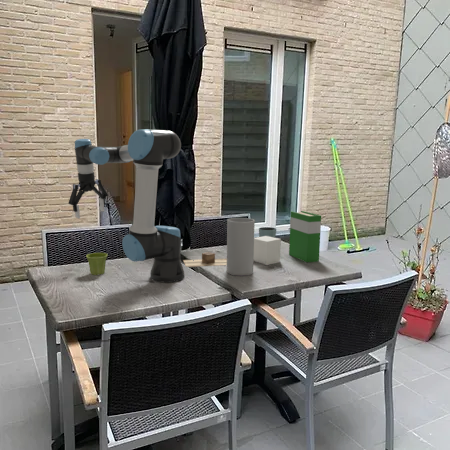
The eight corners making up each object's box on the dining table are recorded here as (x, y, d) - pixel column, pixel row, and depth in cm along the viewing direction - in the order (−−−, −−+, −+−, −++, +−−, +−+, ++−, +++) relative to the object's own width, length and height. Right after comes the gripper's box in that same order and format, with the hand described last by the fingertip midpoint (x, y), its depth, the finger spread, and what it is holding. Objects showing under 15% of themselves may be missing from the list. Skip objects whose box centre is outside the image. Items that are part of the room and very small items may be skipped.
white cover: (280, 261, 233) (280, 239, 231) (266, 265, 226) (266, 241, 224) (265, 257, 240) (266, 235, 238) (251, 261, 233) (252, 238, 231)
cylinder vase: (221, 272, 212) (221, 219, 207) (238, 267, 221) (239, 216, 216) (241, 278, 203) (242, 223, 199) (258, 272, 212) (260, 220, 208)
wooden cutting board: (234, 266, 223) (234, 264, 223) (186, 267, 218) (186, 266, 218) (229, 259, 236) (229, 258, 236) (183, 261, 231) (183, 260, 231)
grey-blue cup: (257, 250, 258) (257, 229, 256) (259, 246, 268) (259, 226, 265) (275, 251, 256) (275, 230, 254) (276, 247, 266) (276, 227, 264)
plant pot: (102, 277, 202) (101, 258, 200) (83, 275, 203) (82, 256, 202) (111, 271, 211) (111, 253, 209) (93, 270, 212) (92, 252, 211)
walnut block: (214, 262, 227) (214, 253, 226) (207, 264, 224) (207, 255, 223) (208, 260, 230) (209, 252, 229) (201, 262, 227) (201, 253, 226)
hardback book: (288, 254, 248) (290, 211, 244) (300, 253, 251) (302, 210, 247) (306, 262, 233) (309, 216, 228) (318, 261, 235) (321, 215, 231)
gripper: (103, 166, 226) (107, 206, 233) (57, 175, 209) (63, 218, 216) (112, 168, 221) (116, 210, 229) (65, 178, 204) (71, 222, 211)
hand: (90, 214), depth 222 cm, fingers open, 13 cm apart
